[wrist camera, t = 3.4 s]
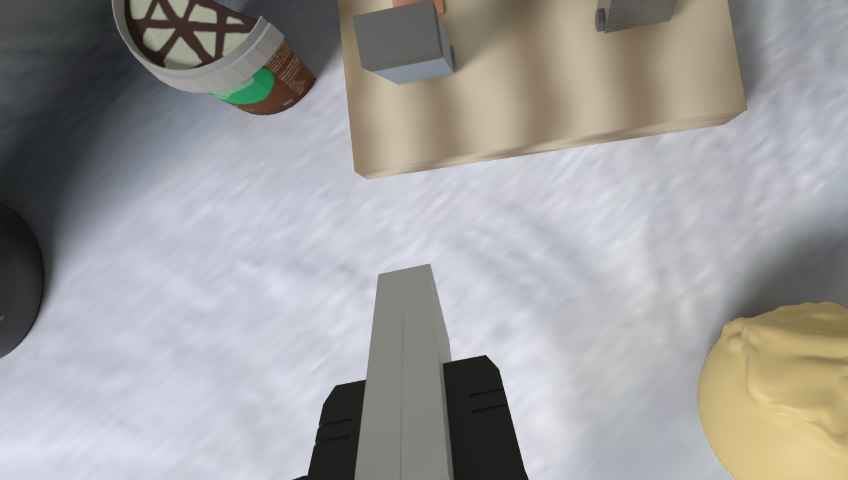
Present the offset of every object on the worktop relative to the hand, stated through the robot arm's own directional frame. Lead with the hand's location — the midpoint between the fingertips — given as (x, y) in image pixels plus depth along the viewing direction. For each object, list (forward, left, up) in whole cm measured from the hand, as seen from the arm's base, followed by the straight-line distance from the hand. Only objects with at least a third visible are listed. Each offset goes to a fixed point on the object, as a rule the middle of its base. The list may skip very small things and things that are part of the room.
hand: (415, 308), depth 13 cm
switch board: (+6, +16, -21) cm, 27 cm away
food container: (-16, +18, -21) cm, 32 cm away
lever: (-1, +16, -18) cm, 24 cm away
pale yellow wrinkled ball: (+19, -9, -21) cm, 30 cm away
